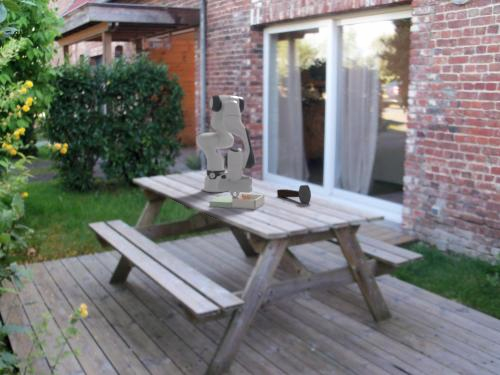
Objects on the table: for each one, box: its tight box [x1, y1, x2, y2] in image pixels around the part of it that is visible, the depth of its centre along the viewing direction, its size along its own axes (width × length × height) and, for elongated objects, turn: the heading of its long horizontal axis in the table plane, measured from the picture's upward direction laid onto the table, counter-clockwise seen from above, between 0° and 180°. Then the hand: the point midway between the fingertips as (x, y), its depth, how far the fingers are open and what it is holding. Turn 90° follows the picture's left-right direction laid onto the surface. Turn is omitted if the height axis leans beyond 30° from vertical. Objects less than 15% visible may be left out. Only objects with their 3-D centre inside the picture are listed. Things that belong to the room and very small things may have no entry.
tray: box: [231, 192, 265, 210], centre depth 344 cm, size 18×14×5 cm
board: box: [209, 195, 233, 209], centre depth 348 cm, size 18×14×3 cm
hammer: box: [276, 184, 312, 205], centre depth 362 cm, size 5×11×30 cm
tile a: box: [241, 193, 250, 200], centre depth 348 cm, size 5×5×2 cm
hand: (234, 199), depth 342 cm, fingers closed
